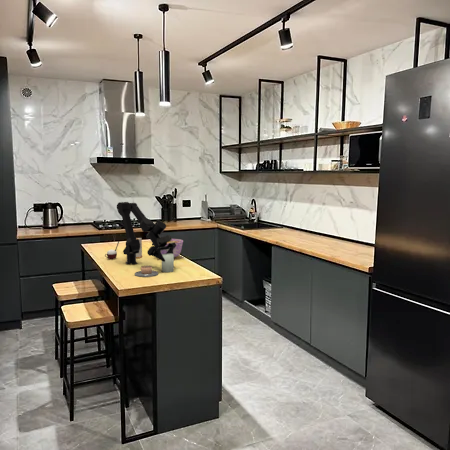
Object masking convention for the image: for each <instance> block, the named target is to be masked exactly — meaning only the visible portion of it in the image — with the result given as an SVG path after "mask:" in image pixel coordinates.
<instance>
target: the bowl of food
mask: <svg viewBox="0 0 450 450" xmlns="http://www.w3.org/2000/svg"><path fill="white" fill-rule="evenodd" d="M169 243H175V244H176V247H175V248H174V249H173V254H174V259H176V257H179V255H180V254H181V252H182V249H183V243H184V240H183V239H180V238H172V240H171V241H169V242H167V245H165V246H168V244H169ZM164 253H167V251H166V250H162V251H161V254H164Z"/></svg>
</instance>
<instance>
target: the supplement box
mask: <svg viewBox="0 0 450 450" xmlns="http://www.w3.org/2000/svg"><path fill="white" fill-rule="evenodd" d="M135 238H136V239H139V242H140V250H139V253H136V259H141V258H143V242H142V241H143V240H142V237H135Z"/></svg>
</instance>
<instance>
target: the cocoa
mask: <svg viewBox="0 0 450 450" xmlns="http://www.w3.org/2000/svg"><path fill="white" fill-rule="evenodd" d="M119 243H120V241H119V240H117V244H116V247H115V249H112V248H111V249H108V251H106V253H105V255H104V257H105V258H107V259H109V260H115V259H116V258H117V254H118V251H117V250H118V246H119Z"/></svg>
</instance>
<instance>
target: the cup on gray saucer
mask: <svg viewBox="0 0 450 450" xmlns="http://www.w3.org/2000/svg"><path fill="white" fill-rule="evenodd" d="M158 275H159V271H156V270H153V266H152V265H142V266H141V267H140V270H139V271H136V272H134V276H135V277H139V278H151V277H156V276H158Z"/></svg>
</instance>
